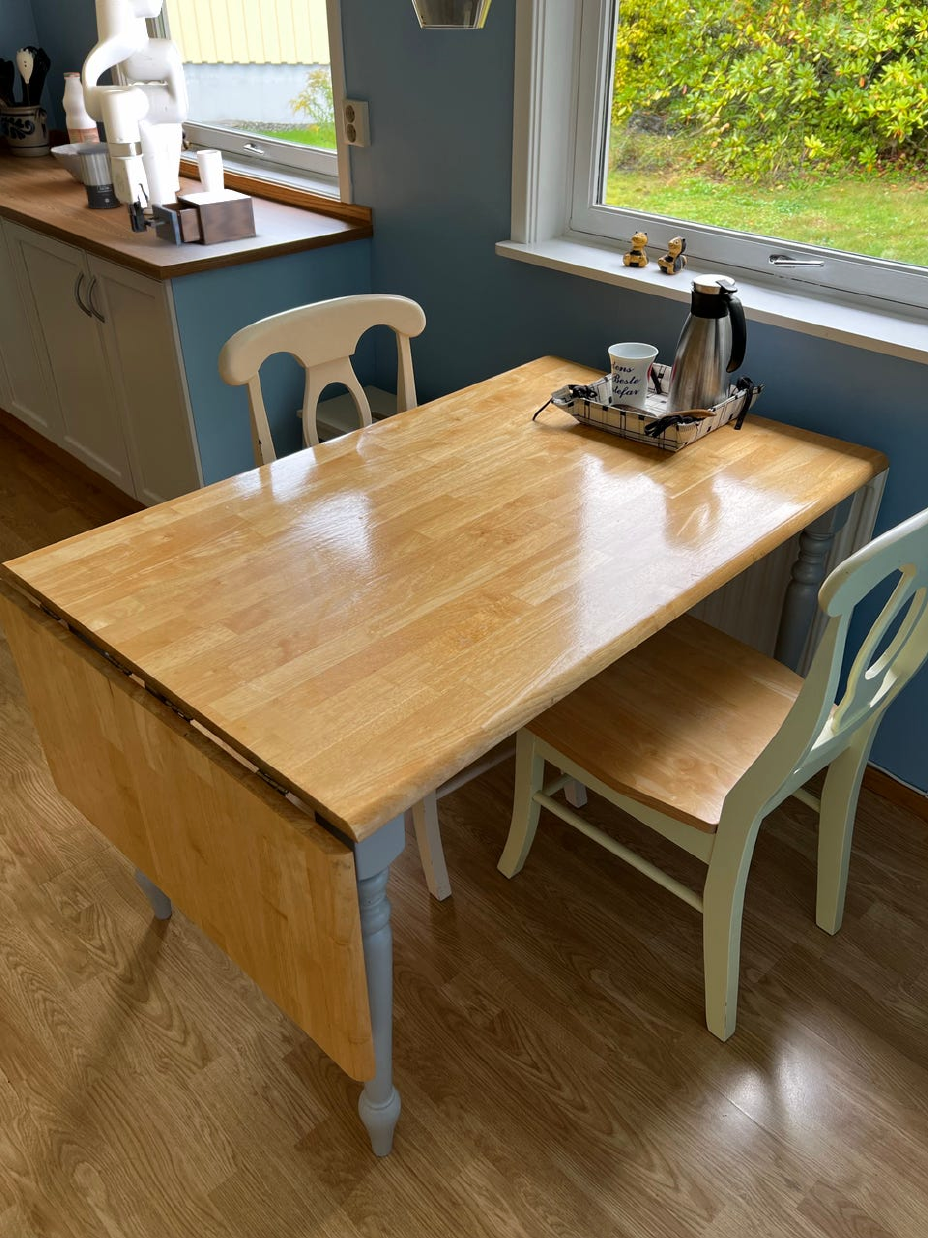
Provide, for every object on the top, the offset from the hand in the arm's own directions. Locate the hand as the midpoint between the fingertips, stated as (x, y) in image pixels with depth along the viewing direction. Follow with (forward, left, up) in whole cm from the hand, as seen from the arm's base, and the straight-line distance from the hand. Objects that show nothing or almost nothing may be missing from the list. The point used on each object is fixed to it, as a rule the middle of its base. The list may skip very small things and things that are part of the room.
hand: (139, 231), depth 239 cm
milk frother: (-36, +46, -4) cm, 59 cm away
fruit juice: (-71, +98, -4) cm, 121 cm away
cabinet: (+13, +17, -4) cm, 22 cm away
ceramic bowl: (-55, +74, -4) cm, 93 cm away
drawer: (+7, +9, -3) cm, 11 cm away
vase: (-27, +67, -4) cm, 73 cm away
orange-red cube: (+7, +10, -2) cm, 12 cm away
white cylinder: (-1, +46, -4) cm, 47 cm away
